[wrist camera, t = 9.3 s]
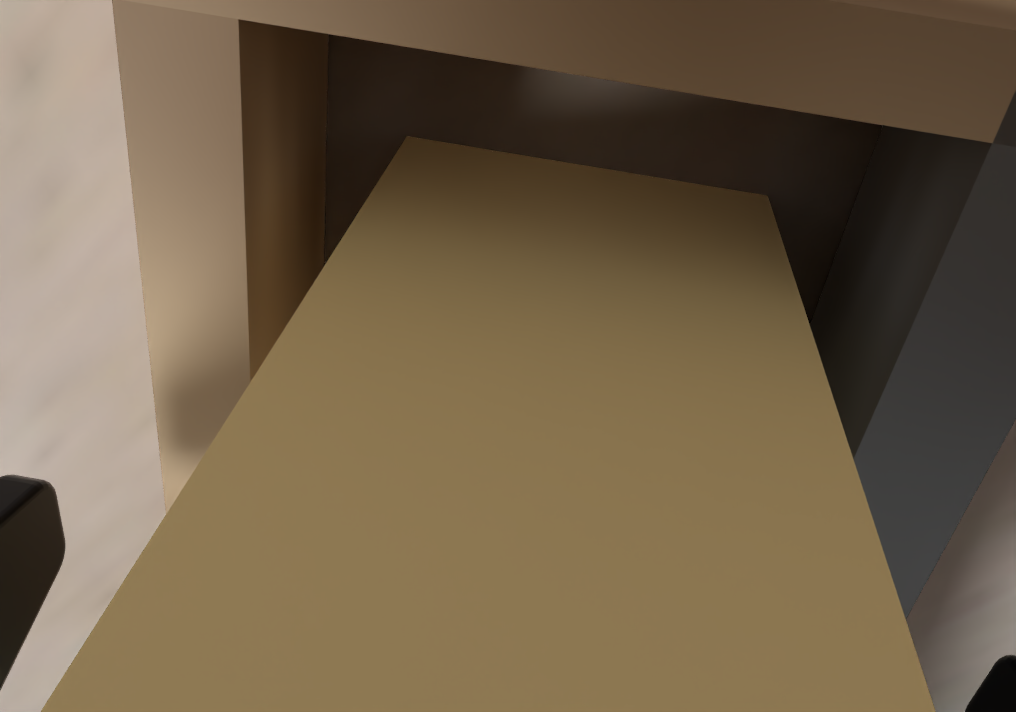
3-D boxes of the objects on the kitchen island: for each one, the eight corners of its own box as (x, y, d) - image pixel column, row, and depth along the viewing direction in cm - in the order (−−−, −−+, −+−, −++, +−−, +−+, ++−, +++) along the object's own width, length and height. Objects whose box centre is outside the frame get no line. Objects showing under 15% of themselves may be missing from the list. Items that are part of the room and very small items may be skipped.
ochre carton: (773, 196, 10) (1073, 1079, 3) (655, 578, 13) (678, 1410, 6) (401, 134, 10) (-74, 857, 3) (375, 528, 13) (110, 1297, 7)
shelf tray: (672, 899, 18) (678, 1051, 15) (262, 821, 18) (213, 960, 16) (1083, -5, 8) (1233, 64, 6) (229, -141, 9) (100, -117, 7)
